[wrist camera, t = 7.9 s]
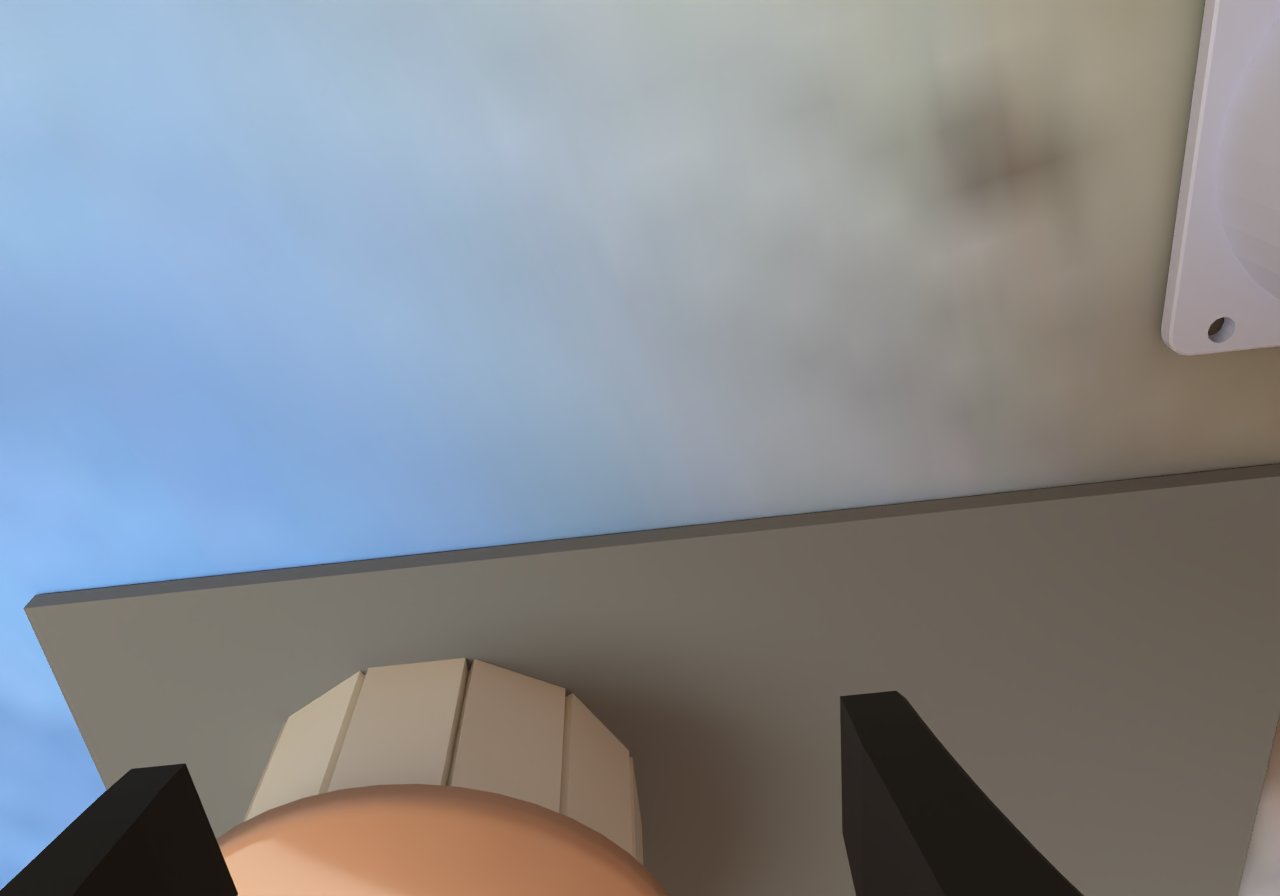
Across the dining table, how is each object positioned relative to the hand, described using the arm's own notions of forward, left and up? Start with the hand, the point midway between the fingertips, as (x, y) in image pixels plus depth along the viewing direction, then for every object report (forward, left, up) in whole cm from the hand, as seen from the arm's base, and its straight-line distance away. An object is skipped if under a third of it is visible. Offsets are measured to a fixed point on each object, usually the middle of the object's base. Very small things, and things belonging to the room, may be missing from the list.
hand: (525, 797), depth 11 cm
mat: (-2, +12, -10) cm, 16 cm away
